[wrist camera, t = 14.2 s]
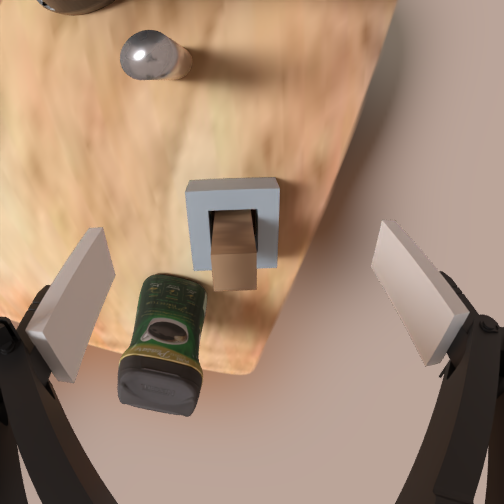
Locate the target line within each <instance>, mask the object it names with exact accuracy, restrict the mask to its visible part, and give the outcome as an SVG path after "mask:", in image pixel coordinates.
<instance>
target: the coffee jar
mask: <svg viewBox="0 0 504 504" xmlns="http://www.w3.org/2000/svg"><path fill="white" fill-rule="evenodd" d="M206 306H207V294H206V291H205V289H204V288H203V287H202V286H201V285H199V284H198V283H195V282H193V281H190V280H186V279H183V278H179V277H174V276H168V275H160V274H157V275H152V276H150V277H148V278H147V279H146V280H145V281H144V283H143V286H142V289H141V292H140V296H139V301H138V307H137V313H136V321H135V327H134V332H133V337H132V341H131V344H130V346H129V348H128V349H127V350H126V351H125V352H124V353H123V355H122V357H121V359H120V363H119V370H118V397H119V400H120V402H121V403H122V404H128V405H131V406H134V407H138V408H143V409H147V410H153V411H157V412H163V413H168V414H174V415H183V416H186V417H188V416H190V415H191V414H192V413H193V411H194V409H195V407H196V404H197V401H198V398H199V394H200V390H201V386H202V382H203V372H202V368H201V366H200V363H199V359H198V355H199V344H200V337H201V332H202V327H203V323H204V318H205V313H206Z"/></svg>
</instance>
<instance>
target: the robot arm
mask: <svg viewBox="0 0 504 504" xmlns="http://www.w3.org/2000/svg"><path fill="white" fill-rule="evenodd" d="M37 1H38V2H39V3H40V4H41V5H42V6H43V7H44V8H46V9H48V10H50V11H53V12H56V13H60V14H64V15H81V14H86V13H90V12H93V11H96V10H98V9H100V8H103V7H105V6H107V5H109V4H110V3H112V2H114V1H115V0H37ZM371 268H372V270H373V271H374V273H375V275H376V276H377V278H378V280H379V282H380V283H381V285H382V287H383V288H384V290H385V292H386V294H387V295H388V297H389V299H390V301H391V302H392V304H393V306H394V308H395V310H396V311H397V313H398V315H399V317H400V319H401V320H402V322H403V324H404V326H405V328H406V330H407V332H408V333H409V336H410V337H411V339H412V341H413V343H414V345H415V347H416V349H417V351H418V353H419V355H420V357H421V359H422V361H423V363H424V365H425V367H426V366H430V365H434V364H438V363H440V362H441V361H442V359H443V358H444V356H445V354H446V353H447V354H448V356H449V358H450V360H449V362H448V363H447V365H446V366H445V368H444V369H443V371H442V372H441V374H440V375H439V377H440V378H441V377H442V375H443V374H444V378H443V381H442V385H441V389H440V392H439V395H438V398H437V402H436V405H435V408H434V411H433V414H432V417H431V420H430V423H429V426H428V429H427V432H426V434H425V437H424V440H423V442H422V445H421V448H420V450H419V453H418V455H417V457H416V460H415V463H414V465H413V467H412V469H411V471H410V474H409V476H408V478H407V480H406V483H405V484H404V487H403V489H402V491H401V493H400V495H399V497H398V499H397V501H396V503H395V504H474V503H473V500H474V496H475V493H476V489H477V486H478V483H479V480H480V476H481V472H482V469H483V465H484V461H485V457H486V453H487V449H488V475H487V488H486V499H485V504H504V327H499V325H498V323H497V322H496V321H495V320H494V319H493V318H491V317H489V316H487V315H479V314H478V313H477V312H476V310H475V309H474V307H473V306H472V305H471V303H470V302H469V301H468V299H467V298H466V297H465V295H464V294H462V291H461V290H460V289H459V288H457V285H456V284H455V282H454V281H453V280H452V279H451V278H450V277H449V276H448V275H446V274H445V273H444V272H442V271H440V272H439V271H438V270H437V268H436V267H435V266H434V265H433V263H432V262H431V261H430V260H429V259H428V257H427V256H426V255H425V254H424V253H423V251H422V250H421V249H420V248H419V247H418V245H417V244H416V243H415V242H414V241H413V240H412V238H411V237H410V236H409V235H408V234H407V233H406V232H405V230H404V229H403V228H402V227H401V226H400V225H399V224H398V223H397V221H395V220H382V222H381V227H380V231H379V236H378V240H377V245H376V249H375V252H374V256H373V260H372V264H371ZM114 278H115V271H114V268H113V264H112V260H111V257H110V253H109V249H108V245H107V241H106V237H105V233H104V229H103V227H98V228H89V229H88V230H87V232H86V233H85V234H84V236H83V237H82V239H81V240H80V242H79V243H78V244H77V246H76V247H75V249H74V250H73V252H72V253H71V255H70V256H69V258H68V259H67V261H66V262H65V264H64V265H63V267H62V268H61V270H60V271H59V273H58V275H57V276H56V278H55V279H54V281H53V283H52V284H51V285H46V286H45V287H44V288H43V289H42V290H41V291H39V292H38V294H37V295H36V297H35V298H34V300H33V303H31V305H30V307H29V308H28V311H27V312H26V314H25V315H24V317H23V319H22V321H21V322H20V324H19V326H18V328H17V330H16V329H15V328H14V326H13V324H12V323H11V321H10V319H9V318H7V317H0V504H28V502H27V498H26V493H25V489H24V484H23V479H22V474H21V468H20V462H19V455H18V448H19V451H20V453H21V456H22V459H23V461H24V464H25V466H26V469H27V471H28V473H29V476H30V478H31V481H32V482H33V485H34V487H35V489H36V491H37V494H38V496H39V498H40V500H41V502H42V504H118V503H117V502H116V500H115V499H114V497H113V496H112V494H111V493H110V492H109V490H108V489H107V487H106V486H105V484H104V483H103V481H102V480H101V478H100V476H99V475H98V473H97V472H96V470H95V468H94V467H93V465H92V463H91V462H90V460H89V458H88V456H87V455H86V453H85V451H84V450H83V448H82V446H81V444H80V442H79V440H78V438H77V437H76V435H75V433H74V431H73V429H72V427H71V425H70V423H69V421H68V419H67V417H66V415H65V413H64V410H63V408H62V406H61V404H60V402H59V399H58V397H57V395H56V393H55V390H54V388H53V385H52V384H51V382H50V381H49V376H50V374H51V372H52V373H53V375H54V376H55V377H56V379H57V380H58V381H62V382H69V383H74V382H75V380H76V376H77V373H78V370H79V367H80V365H81V362H82V359H83V356H84V353H85V350H86V347H87V345H88V342H89V339H90V337H91V334H92V331H93V329H94V326H95V323H96V321H97V318H98V316H99V313H100V311H101V308H102V306H103V303H104V301H105V299H106V296H107V294H108V292H109V289H110V287H111V285H112V282H113V280H114ZM17 445H18V448H17ZM488 447H489V448H488Z"/></svg>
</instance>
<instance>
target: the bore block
mask: <svg viewBox="0 0 504 504" xmlns="http://www.w3.org/2000/svg"><path fill="white" fill-rule="evenodd" d="M185 196H186V206H187V216H188V225H189V234H190V243H191V252H192V260H193V268H194V271H202V270H212V265H211V245H212V235H213V231H212V217H211V211H214V210H241V209H256V236H254V238H255V245H256V252H257V268H277V256H278V230H279V200H280V188H279V185H278V183H277V181H276V178H275V177H262V178H227V179H205V180H190V181H189V183H188V186H187V188H186V191H185Z"/></svg>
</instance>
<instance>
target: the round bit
mask: <svg viewBox="0 0 504 504" xmlns="http://www.w3.org/2000/svg"><path fill="white" fill-rule="evenodd" d="M120 63H121V66H122V68H123V70H124V72H125V73H126V74H127V75H129V76H130V77H132V78H134V79H138V80H177V79H180V78H182V77H184V76H185V75H186V74H187V73H188V72H189V71H190V69H191V67H192V57H191V54H190V53H189V52H188V51H187V50H186V49H185V48H183V47H182V46H180V45H179V44H177V43H176V42H174V41H173V40H171V39H170V38H168V37H167V36H165V35H164V34H162V33H161V32H158V31H155V30H144V31H141V32H138V33H136V34H134V35H133V36H131V37H130V38H129V39H128V40H127V41H126V43H125V44H124V46H123V48H122V50H121V54H120Z"/></svg>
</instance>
